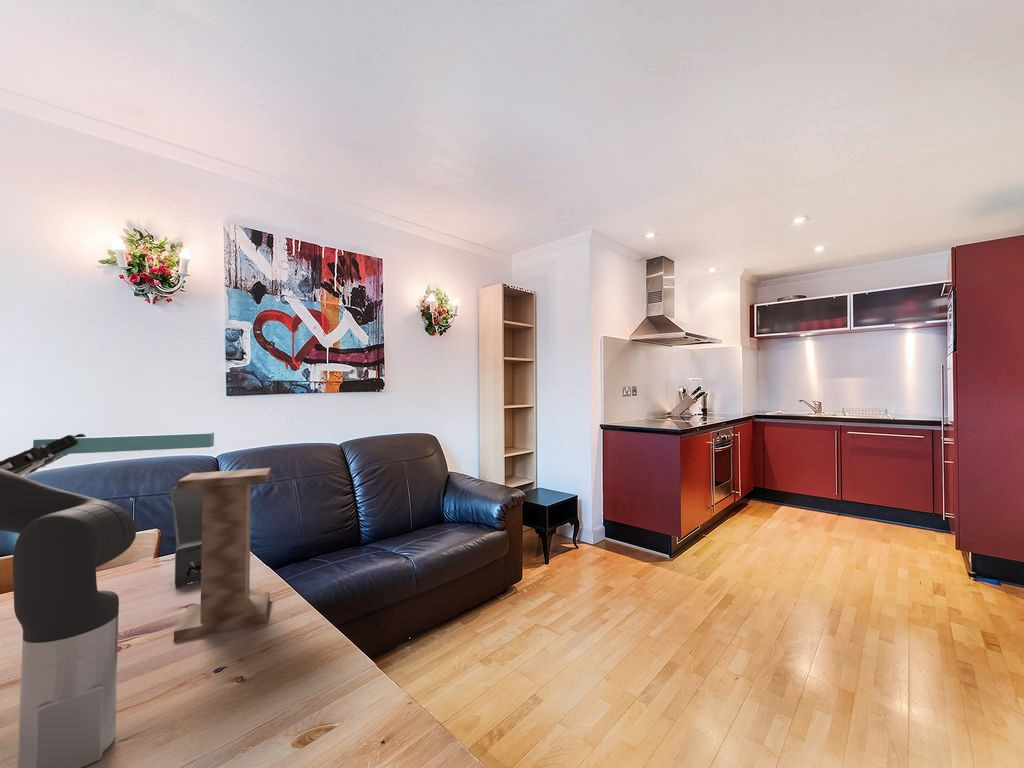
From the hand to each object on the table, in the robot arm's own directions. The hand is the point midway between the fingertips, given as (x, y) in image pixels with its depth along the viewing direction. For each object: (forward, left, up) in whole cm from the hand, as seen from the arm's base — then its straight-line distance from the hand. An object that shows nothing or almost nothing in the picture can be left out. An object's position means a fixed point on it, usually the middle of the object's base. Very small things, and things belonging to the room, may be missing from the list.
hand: (79, 438), depth 86 cm
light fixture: (+29, -24, -41) cm, 56 cm away
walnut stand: (-9, -24, -41) cm, 48 cm away
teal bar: (-3, -8, -3) cm, 9 cm away
